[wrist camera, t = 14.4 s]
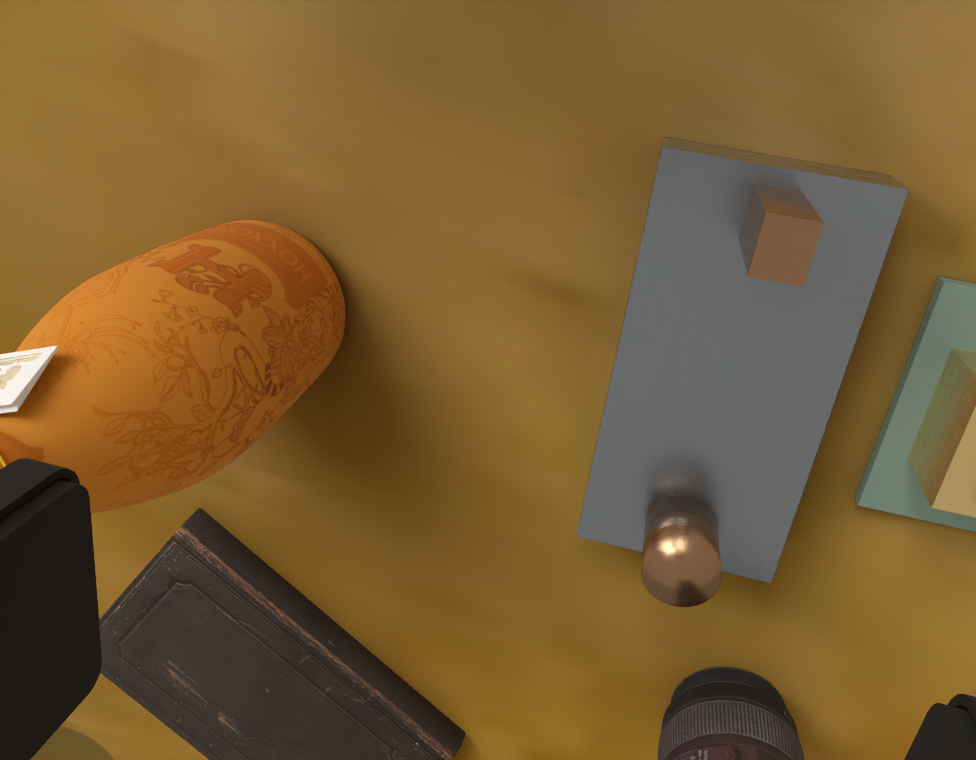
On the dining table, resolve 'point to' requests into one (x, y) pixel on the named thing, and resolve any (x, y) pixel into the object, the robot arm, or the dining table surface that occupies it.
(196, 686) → the hardcover book
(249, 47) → the dining table surface
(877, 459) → the rubber mat
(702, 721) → the camera lens
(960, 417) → the lever cap
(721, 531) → the hand plane
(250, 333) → the wine bottle
